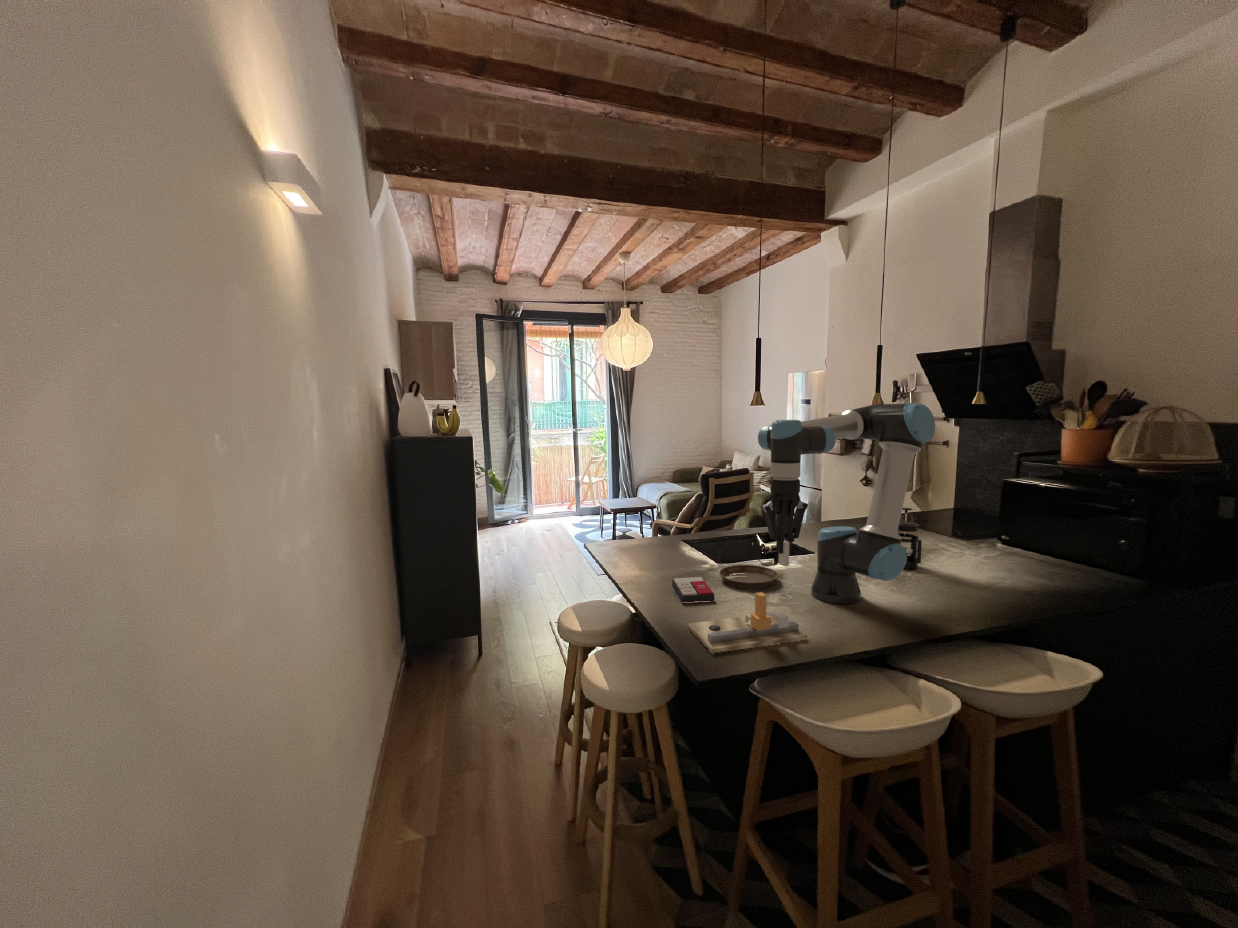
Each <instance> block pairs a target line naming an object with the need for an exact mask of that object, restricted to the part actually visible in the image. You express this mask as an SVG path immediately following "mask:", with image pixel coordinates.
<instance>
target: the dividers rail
mask: <svg viewBox="0 0 1238 928" xmlns="http://www.w3.org/2000/svg"><path fill="white" fill-rule="evenodd" d="M771 613H772V612H769V611H766V614H767V615H768V616H770V617H771V620H772V624H773V625H771V629H766V630H759V631H757V630H756V629H755V628H753V627H752V628H744V629H737V630H730V631H723V632H716V633H709V634H708V642H709V643H710V644H716V643H723V642H729V641H736V640H743V639H750V638H757V637H764V636H770V635H777V634H784V633H791V632H798V631H799V629H800V628H799V624H798V623H797V622H796V621H789V615H788V614H786V613H784V611H781V612H780V611H779V612H776V613H773V615H772V614H771Z"/></svg>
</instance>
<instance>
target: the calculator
mask: <svg viewBox="0 0 1238 928" xmlns="http://www.w3.org/2000/svg"><path fill="white" fill-rule="evenodd" d="M671 587H673V588H674V590H675V592H676V593H677V595H678V596H679V599H680V600H681V602H694V601H713V600H714V601H715V593H714V591H713V590H712V588H710V586H709V585H708V584H707V582H706V581H705V579H704V577H702V576H693V577H692V576H691V577H677V578H673V579H672V580H671ZM675 592H674V593H675ZM676 593H675V594H676ZM677 595H676V596H677ZM679 599H678V600H679ZM680 600H679V601H680ZM681 602H680V603H681Z"/></svg>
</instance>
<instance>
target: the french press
mask: <svg viewBox="0 0 1238 928" xmlns="http://www.w3.org/2000/svg"><path fill="white" fill-rule="evenodd" d="M902 511H904V514H905V517H904V518H905V519H904V521H903V520H902V521H901V520H900V522H899V526H898V531H900V532H901V533H900V532H899V533H898V534H899V536H900V537H901V538H902V540H901V543H904V544H903V547H905V549H906V554H907V561H906V564H905V567H904V570H903V571H914V570H918V569H919V566H918V564H920V563H922V546H923V545H922V542H923V541H922V539H919V536H918V535H915V534H910V532H912V533H913V532H917V531H918V529H919V527H920V524H919V523H918V522H917V523H916V522H914V521H907V515H908V511H913V508H912V507H911V508H910V507H903V508H902ZM902 532H904V533H902ZM907 532H909V533H907ZM903 537H904V538H903ZM906 543H910V547H906Z"/></svg>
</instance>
